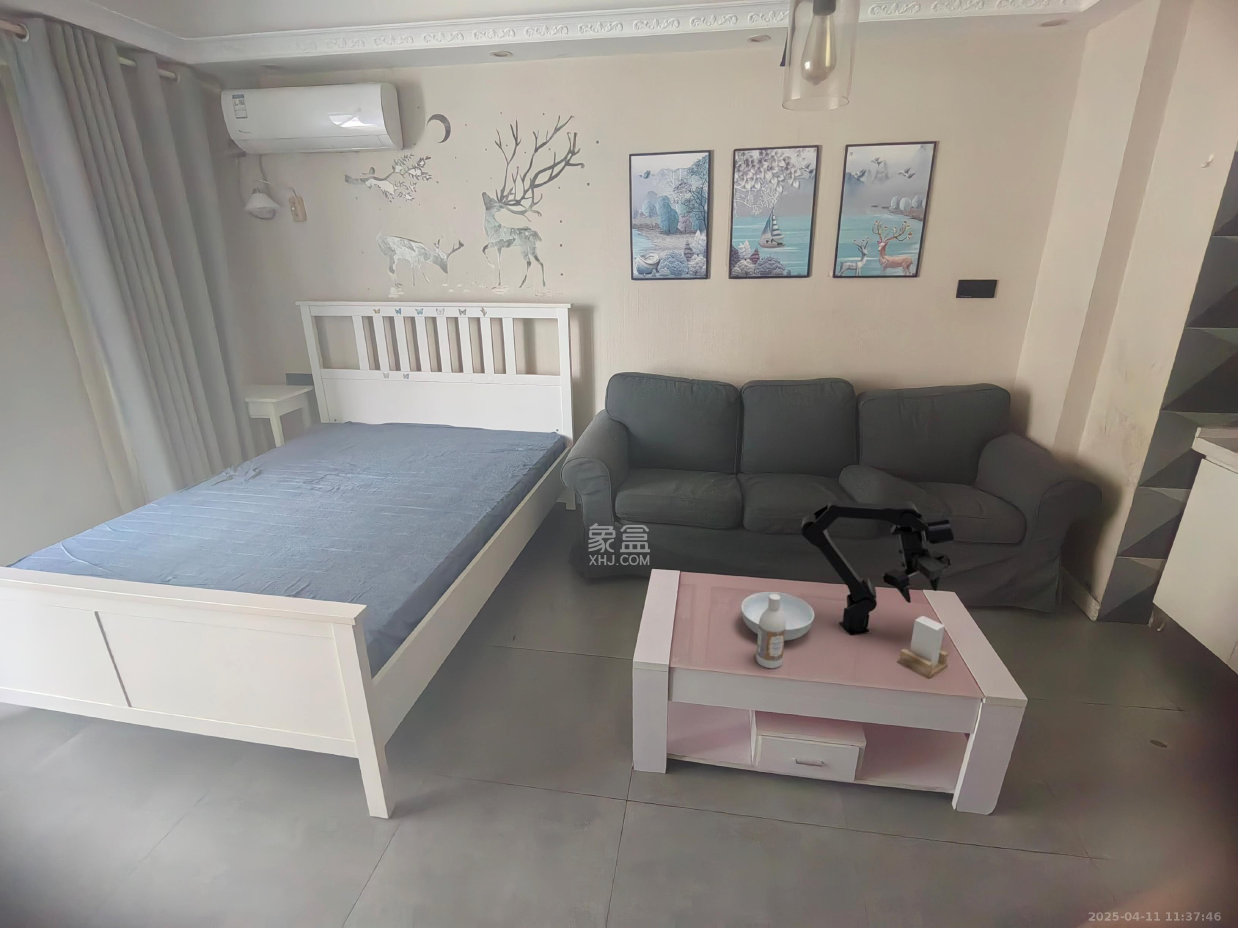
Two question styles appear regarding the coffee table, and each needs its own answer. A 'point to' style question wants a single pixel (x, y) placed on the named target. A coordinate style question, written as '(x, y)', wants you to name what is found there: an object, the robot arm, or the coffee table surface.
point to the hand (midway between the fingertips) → (922, 596)
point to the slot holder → (923, 663)
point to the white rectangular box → (927, 639)
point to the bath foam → (771, 635)
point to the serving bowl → (791, 607)
